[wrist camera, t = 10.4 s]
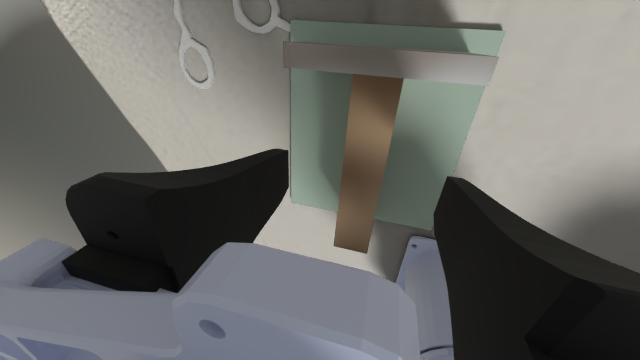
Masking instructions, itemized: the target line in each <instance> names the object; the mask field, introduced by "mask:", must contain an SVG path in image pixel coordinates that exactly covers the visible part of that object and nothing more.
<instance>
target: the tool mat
mask: <svg viewBox="0 0 640 360" xmlns="http://www.w3.org/2000/svg"><path fill="white" fill-rule="evenodd" d="M290 30H291V42H325V43H339V44H354V45H368V46H383V47H397V48H412V49H427V50H441V51H456V52H470V53H476V54H483V55H489V56H497V54H498V51H499V48H500V45H501V43H502V40H503V37H504V35H505V32H506V31H498V30H479V29H460V28H440V27H421V26H402V25H383V24H364V23H344V22H325V21H306V20H290ZM352 80H353V74H350V73H339V72H328V71H317V70H306V69H295V68H291V203H296V204H301V205H306V206H311V207H315V208H320V209H325V210H330V211H335V212H338V203H339V194H340V186H341V177H342V168H343V159H344V150H345V141H346V133H347V124H348V115H349V106H350V97H351V89H352ZM484 89H485V86H481V85H470V84H459V83H448V82H437V81H427V80H416V79H405V78H404V81H403V85H402V90H401V95H400V100H399V104H398V109H397V114H396V119H395V123H394V128H393V133H392V138H391V142H390V147H389V152H388V157H387V161H386V166H385V171H384V175H383V180H382V185H381V190H380V194H379V199H378V204H377V209H376V213H375V218H374V219H375V220H380V221H385V222H390V223H395V224H400V225H405V226H410V227H415V228H420V229H425V230H430V231H432V228H433V226H434V216H433V214H434V211H435V208H436V206H437V203H438V200H439V197H440V195H441V192H442V189H443V186H444V183H445V181H446V178H447V176H451V177H452V175H453V172H454V169H455V167H456V164H457V161H458V158H459V156H460V153H461V150H462V148H463V145H464V142H465V140H466V137H467V134H468V132H469V129H470V126H471V123H472V121H473V118H474V115H475V113H476V110H477V107H478V105H479V102H480V99H481V97H482V94H483V91H484Z"/></svg>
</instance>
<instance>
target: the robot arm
mask: <svg viewBox="0 0 640 360" xmlns="http://www.w3.org/2000/svg"><path fill="white" fill-rule="evenodd" d="M288 187H289V168H288V150H282V149H271V150H267V151H264V152H261V153H257V154H254V155H251V156H248V157H245V158H241V159H238V160H234V161H231V162H227V163H223V164H219V165H214V166H209V167H204V168H198V169H190V170H182V171H172V172H157V173H156V172H155V173H111V172H105V173H100V174H97V175H95V176H93V177H90V178H88V179H86V180H84V181H81V182H79V183H77V184H75V185H73V186H71V187H70V188H69V189H68V190H67V195H66V205H67V208H68V211H69V213H70V215H71V217H72V218H73V220H74V222H75V224H76V225H77V227H78V229H79V231H80V232H81V234H82V236H83V238H84V240H85V242H86V243H87V245H86V246H84V247H83V248H81V249H80V250H78V251H76V250H75V249H74V248H73V247H71V246H69V245H67V244H63V243H60V242H57V241H53V240H50V239H46V238H40V239H39V240H37V241H35V242H33V243H31V244H30V245H28V246H26V247H24V248H22V249H21V250H19V251H17V252H15V253H13V254H12V255H10V256H8V257H6V258H4V259H2V260H1V261H0V360H640V274H639V273H637V272H634V271H632V270H629V269H627V268H624V267H622V266H619V265H616V264H614V263H611V262H609V261H607V260H604V259H602V258H600V257H597V256H595V255H593V254H590V253H588V252H586V251H584V250H582V249H580V248H577V247H575V246H573V245H571V244H569V243H567V242H565V241H563V240H561V239H559V238H557V237H555V236H553V235H551V234H549V233H547V232H545V231H543V230H542V229H540V228H538V227H536V226H534V225H532V224H531V223H529V222H527V221H526V220H524V219H522V218H521V217H519V216H518V215H516V214H515V213H513V212H511V211H510V210H508V209H507V208H505V207H504V206H502V205H501V204H499V203H498V202H497V201H495V200H494V199H492V198H491V197H490V196H488V195H487V194H485V193H484V192H483V191H481V190H480V189H478V188H477V187H476V186H474V185H473V184H471V183H470V182H468V181H467V180H465V179H463V178H457V177H451V176H447V178H446V181H445V183H444V186H443V189H442V192H441V195H440V197H439V200H438V203H437V206H436V208H435V211H434V214H433V216H434V231H435V237H436V240H434V239H429V238H425V237H420V236H412V237H410V239H409V242H408V245H407V249H406V252H405V255H404V258H403V261H402V264H401V267H400V270H399V274H398V277H397V280H396V283H394V282H391V281H389V280H387V279H385V278H382V277H380V276H378V275H376V274H373V273H371V272H369V271H365V270H361V269H357V268H352V267H348V266H344V265H340V264H336V263H332V262H328V261H324V260H320V259H316V258H312V257H307V256H303V255H299V254H295V253H291V252H287V251H283V250H279V249H275V248H271V247H267V246H262V245H258V244H254V243H253V242H254V240H255V238H256V237H257V235H258V234H259V232H260V231H261V230H262V228H263V227H264V225H265V224H266V223H267V221H268V220H269V218H270V217H271V216H272V214H273V213H274V211H275V210H276V209H277V207H278V206H279V204H280V203H281V201H282V199H283V197H284V195H285V193H286V191H287V189H288ZM413 244H415V246H413Z"/></svg>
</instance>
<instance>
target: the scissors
mask: <svg viewBox="0 0 640 360" xmlns="http://www.w3.org/2000/svg"><path fill="white" fill-rule="evenodd" d="M232 3H233V8H234V15H235V20H237V21H238V22H239V23H240V24H241V25H242V26H243V27H244V28H245V29H247V30H250V31H252V32H255V33H260V34H265V33H268V32H270V31H272V30H273V29H274V28H275V27H276V26H277V27H279V28H282V29H284V30H286V31H288V32H290V33H291V30H290V23H288V22H287V21H285V20H283V19H282V18H280V17H279V16H280V11H281V10H280V7H279V4H278V1H277V0H269V3H270V5H271V7H272V8H271V17H270V21H269V22H268V23H267V24H265V25H264V26H262V27H259V26H256V25H254V24H253V23H252V22H250V20H249V19H248V18H247V16H246V15H245V13H244V11H243V9H242V7H241V0H232ZM173 13H174V15H175V17H176V19H177V21H178V23H179V24H180V26H181V28H182V34H181V42H180V46H179V52H178V53H179V61H180V66H181V69H182V71H183V73H184V75H185V76H186V78H187V79H188V81H189V82H190V83H191V84H192V85H194V86H196V87H198V88H200V89H207V88H209V87H210V86H211V85H212V84H213V81H214V77H215V71H214V66H213V61H212V58H211V56H210V53H209V51H208V48H206V47H205V46H203V45H202V44H200V43H198V42H197V41H195V40H194V39H192V36H191V32H190V31H189V29H188V27H187V25H186V24H185V22H184V17H183V12H182V6H181V0H174V9H173ZM189 47H193V48H194V49H196V50H197V51H198V52H200V54H201V56H202V58H203V60H204V62H205V64H206V66H207V71H208V79H207V80H206V81H205V82H203V83H199V82H197V81H196V80H194V79H193V78H192V76H191V75H190V74H189V72H188V70H187V69H186V64H185V52H186V50H187V49H188V48H189Z"/></svg>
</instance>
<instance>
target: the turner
mask: <svg viewBox="0 0 640 360" xmlns="http://www.w3.org/2000/svg"><path fill="white" fill-rule="evenodd" d="M283 49H284V68H295V69H306V70H317V71H328V72H339V73H350V74H353V80H352V89H351V97H350V106H349V115H348V124H347V133H346V141H345V150H344V159H343V168H342V177H341V186H340V194H339V203H338V212H337V221H336V230H335V238H334V246H336V247H340V248H344V249H349V250H353V251H358V252H362V253H366V254H367V251H368V246H369V242H370V237H371V232H372V228H373V223H374V218H375V213H376V209H377V204H378V199H379V194H380V190H381V185H382V180H383V175H384V171H385V166H386V161H387V157H388V152H389V147H390V142H391V138H392V133H393V128H394V123H395V119H396V114H397V109H398V104H399V100H400V95H401V90H402V85H403V81H404V78H405V79H416V80H427V81H437V82H448V83H459V84H470V85H481V86H488V85H489V83H490V80H491V77H492V75H493V72H494V69H495V67H496V64H497V61H498V59H499V57H496V56H489V55H483V54H476V53H470V52H456V51H441V50H427V49H412V48H397V47H383V46H368V45H354V44H339V43H325V42H283Z"/></svg>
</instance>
